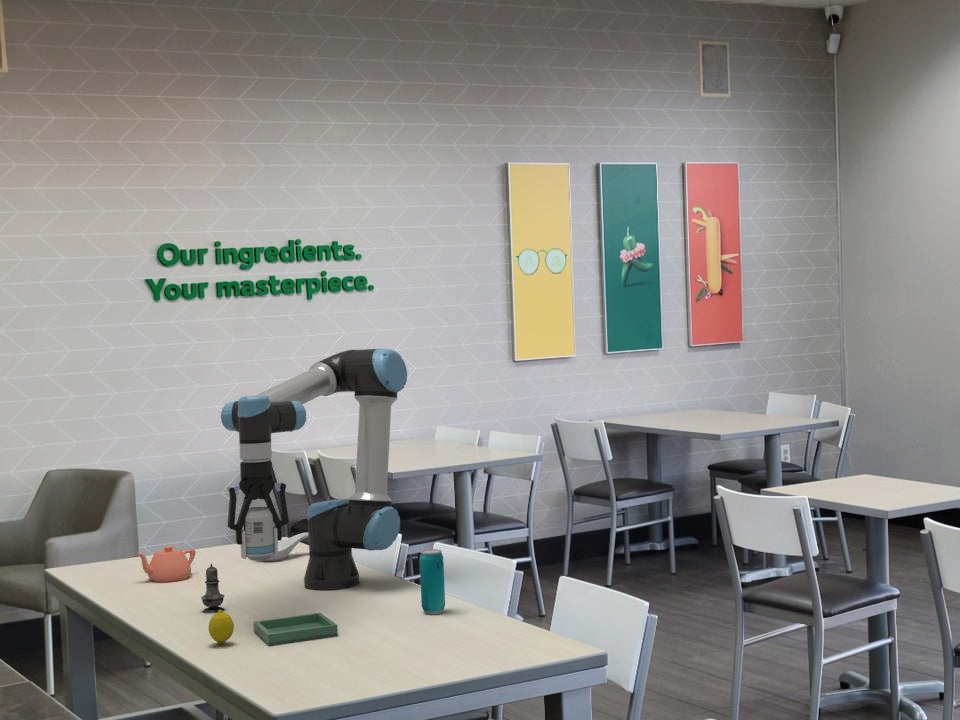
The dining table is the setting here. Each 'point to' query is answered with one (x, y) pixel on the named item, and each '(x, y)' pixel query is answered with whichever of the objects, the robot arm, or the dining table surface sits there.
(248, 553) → the beverage can
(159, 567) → the teapot
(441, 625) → the dining table surface
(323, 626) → the tray
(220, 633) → the fruit
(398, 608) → the dining table surface
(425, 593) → the beverage can
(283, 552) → the spoon rest
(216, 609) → the salt shaker
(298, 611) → the dining table surface
